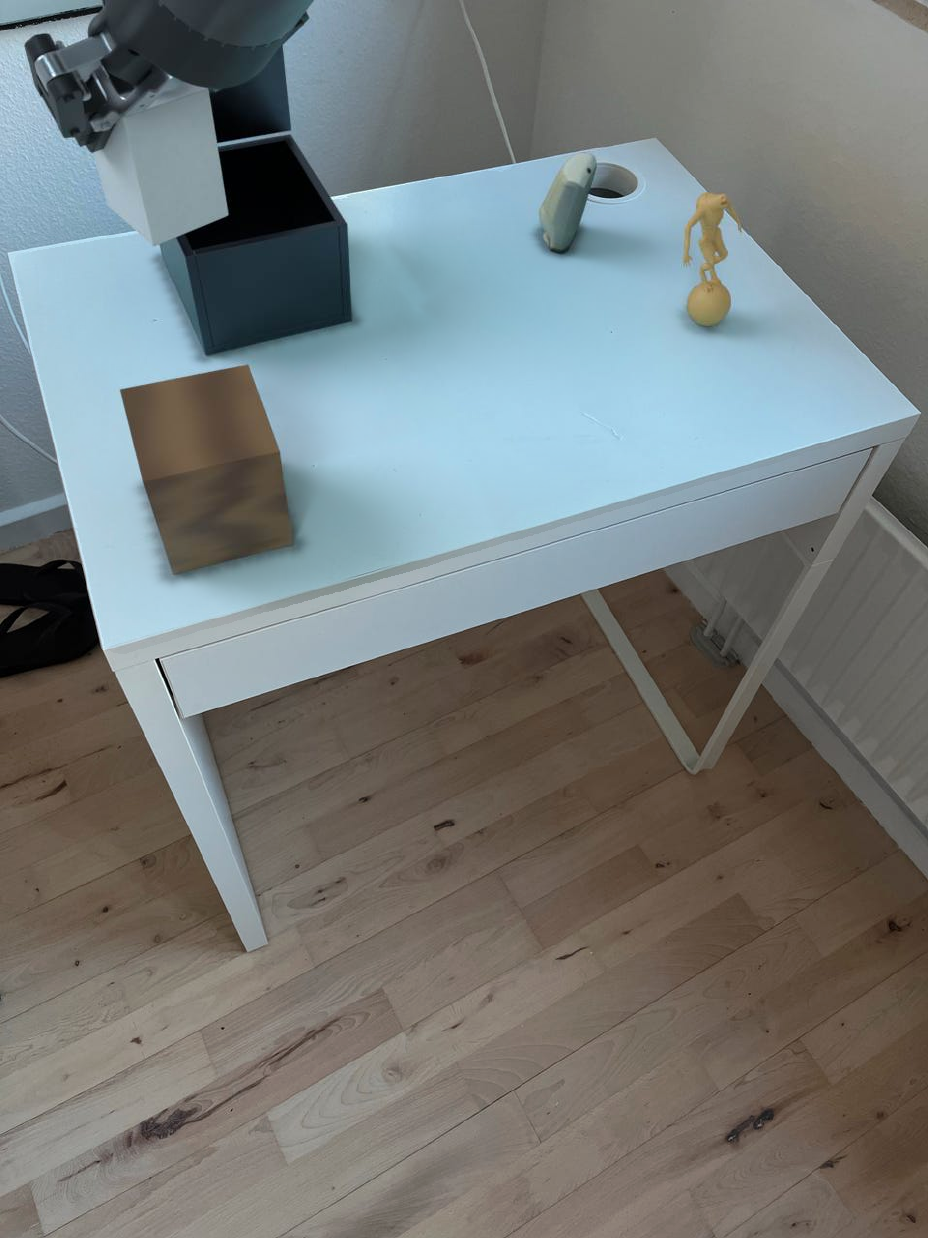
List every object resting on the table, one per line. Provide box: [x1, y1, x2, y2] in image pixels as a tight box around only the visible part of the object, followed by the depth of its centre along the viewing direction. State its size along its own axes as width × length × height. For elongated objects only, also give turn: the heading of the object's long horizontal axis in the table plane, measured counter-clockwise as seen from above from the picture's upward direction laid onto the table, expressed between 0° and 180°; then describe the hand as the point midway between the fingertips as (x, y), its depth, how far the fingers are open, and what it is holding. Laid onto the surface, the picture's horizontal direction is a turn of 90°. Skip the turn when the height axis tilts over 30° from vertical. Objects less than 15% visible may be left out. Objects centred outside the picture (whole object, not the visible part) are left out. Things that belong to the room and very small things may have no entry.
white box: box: [92, 79, 228, 247], centre depth 51 cm, size 5×5×8 cm
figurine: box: [682, 191, 743, 327], centre depth 84 cm, size 8×6×12 cm
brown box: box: [119, 364, 294, 575], centre depth 68 cm, size 9×9×10 cm
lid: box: [100, 0, 292, 144], centre depth 77 cm, size 15×14×4 cm
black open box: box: [159, 133, 353, 356], centre depth 83 cm, size 15×14×10 cm
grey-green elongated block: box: [538, 151, 598, 255], centre depth 91 cm, size 6×5×8 cm
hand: (132, 116), depth 51 cm, fingers closed on white box, 5 cm apart
